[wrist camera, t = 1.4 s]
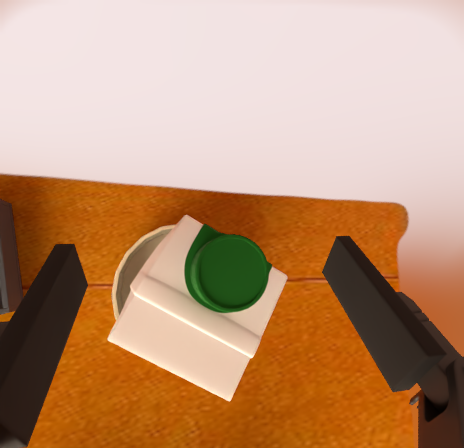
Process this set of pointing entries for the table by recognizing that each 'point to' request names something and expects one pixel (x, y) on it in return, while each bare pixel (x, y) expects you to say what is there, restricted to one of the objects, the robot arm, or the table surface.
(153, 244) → the bowl
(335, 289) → the robot arm
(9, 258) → the tray
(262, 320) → the milk carton
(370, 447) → the table surface
